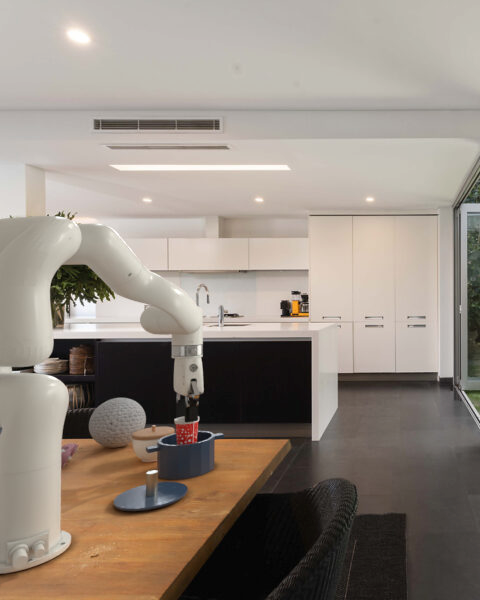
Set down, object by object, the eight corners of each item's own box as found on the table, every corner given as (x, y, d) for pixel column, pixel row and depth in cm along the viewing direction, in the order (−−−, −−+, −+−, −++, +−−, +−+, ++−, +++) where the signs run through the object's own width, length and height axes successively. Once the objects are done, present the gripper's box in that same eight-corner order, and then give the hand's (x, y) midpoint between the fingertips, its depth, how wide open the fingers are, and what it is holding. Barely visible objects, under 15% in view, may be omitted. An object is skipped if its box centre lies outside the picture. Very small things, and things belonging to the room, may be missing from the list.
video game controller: (58, 478, 118) (73, 452, 119) (39, 472, 116) (54, 446, 117) (70, 465, 127) (84, 442, 128) (53, 460, 125) (67, 436, 127)
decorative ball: (139, 436, 150) (139, 391, 150) (151, 446, 139) (151, 398, 139) (85, 446, 140) (85, 397, 140) (92, 457, 129) (93, 405, 129)
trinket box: (182, 453, 133) (182, 421, 133) (158, 465, 122) (159, 431, 123) (148, 451, 134) (148, 420, 134) (122, 464, 124) (122, 430, 124)
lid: (196, 499, 101) (196, 472, 101) (121, 520, 91) (121, 490, 91) (176, 481, 112) (176, 456, 112) (107, 498, 102) (107, 471, 102)
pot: (232, 467, 121) (232, 436, 121) (154, 487, 108) (154, 451, 108) (213, 455, 131) (213, 426, 131) (139, 471, 118) (140, 439, 118)
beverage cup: (190, 447, 124) (190, 396, 124) (204, 450, 121) (204, 398, 121) (169, 453, 118) (169, 400, 119) (183, 457, 115) (183, 402, 116)
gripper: (213, 353, 116) (213, 422, 116) (191, 348, 129) (190, 411, 128) (182, 355, 111) (182, 428, 111) (162, 350, 124) (162, 415, 123)
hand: (187, 418), depth 120 cm, fingers closed on beverage cup, 6 cm apart
